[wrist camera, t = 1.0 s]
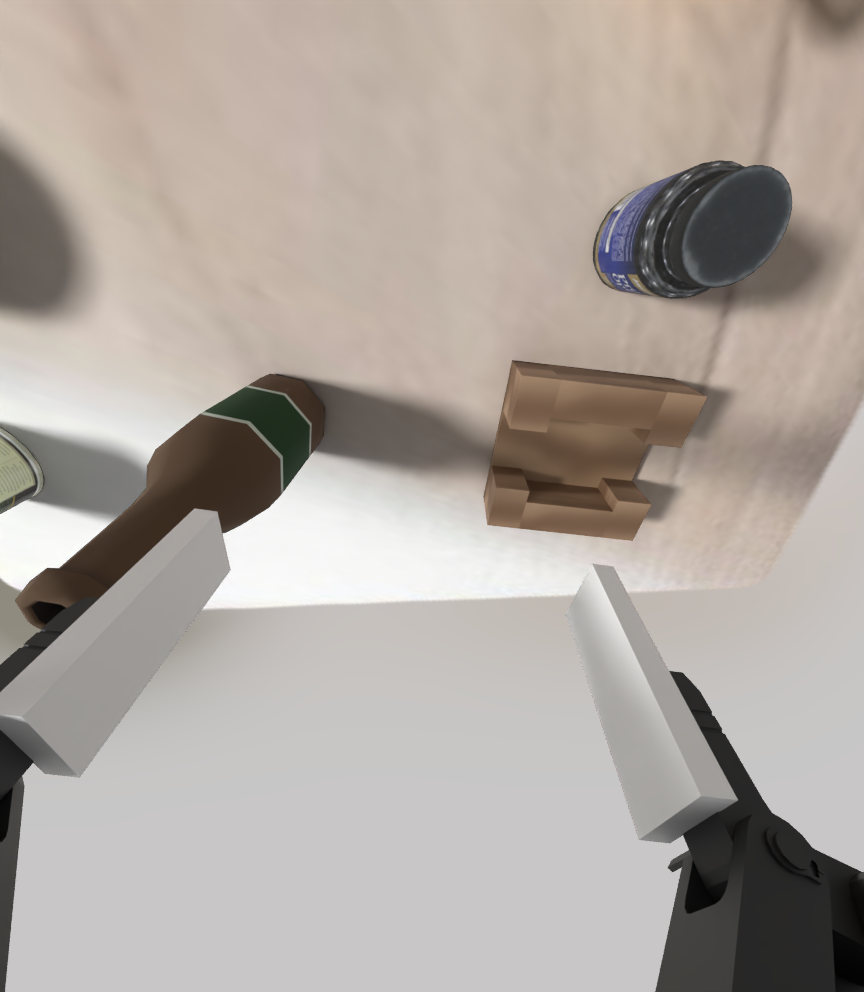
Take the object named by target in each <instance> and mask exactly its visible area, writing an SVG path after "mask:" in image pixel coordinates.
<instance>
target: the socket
mask: <svg viewBox="0 0 864 992" xmlns="http://www.w3.org/2000/svg"><path fill="white" fill-rule="evenodd" d="M706 399H707V396H705V395H703V394H701V393H699V392H697V391H696V390H694V389H692V388H690V387H688V386H686V385H684V384H682V383H680V382H678V381H676V380H674V379H670V378H661V377H652V376H644V375H635V374H626V373H618V372H609V371H600V370H591V369H583V368H574V367H565V366H557V365H548V364H539V363H531V362H522V361H513V360H512V365H511V369H510V374H509V379H508V384H507V388H506V393H505V398H504V403H503V407H502V412H501V417H500V421H499V426H498V431H497V436H496V440H495V445H494V450H493V455H492V459H491V464H490V469H489V473H488V478H487V483H486V488H485V492H484V503H485V510H486V518H487V525H492V526H502V527H511V528H520V529H529V530H539V531H548V532H557V533H566V534H576V535H585V536H594V537H603V538H613V539H622V540H631V541H633V539H634V537H635V535H636V533H637V531H638V529H639V527H640V525H641V524H642V522H643V520H644V518H645V516H646V514H647V512H648V510H649V508H650V506H651V504H650V502H649V501H648V500H647V499H646V498H645V496H644V495H643V494H642V493H641V491H640V490H639V489H638V488H637V487H636V485H635V484H634V483H633V482H632V479H633V477H634V475H635V473H636V471H637V468H638V466H639V464H640V462H641V460H642V458H643V455H644V453H645V451H646V449H647V447H648V445H649V444H652V445H661V446H670V447H679V448H681V447H682V445H683V443H684V441H685V439H686V437H687V435H688V433H689V431H690V429H691V428H692V426H693V424H694V422H695V420H696V418H697V416H698V414H699V412H700V410H701V408H702V406H703V404H704V403H705V401H706Z"/></svg>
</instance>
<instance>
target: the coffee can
mask: <svg viewBox="0 0 864 992" xmlns="http://www.w3.org/2000/svg"><path fill="white" fill-rule="evenodd" d="M43 483H44V478H43V474H42V470H41V468H40V466H39V464H38V462H37V461H36V459H35V458H34V457H33V455H32V454H31V453H30V452H29V450H28V449H27V448H26V447H25V446H24V445H23V444H21V443H20V442H19V441H18V440H17V439H16V438H15V437H13V436H12V435H11V434H9V433H8V432H6V431H5V430H3V429H1V428H0V514H2V513H3V512H5V511H7V510H9V509H11V508H12V507H14V506H16V505H18V504H19V503H21V502H23V501H25V500H27V499H29V498H31V497H34V496H35V495H37V494H38V493H39V492H40V491H41V489H42V487H43Z"/></svg>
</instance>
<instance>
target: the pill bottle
mask: <svg viewBox="0 0 864 992" xmlns="http://www.w3.org/2000/svg"><path fill="white" fill-rule="evenodd" d="M791 210H792V194H791V189H790V187H789V183H788V182H787V180H786V179H785V177H784V176H783V175H782V173H780V172H779V171H777V170H775V169H774V168H772V167H768V166H763V165H753V166H748V167H744V166H742V165H740V164H737V163H735V162H732V161H714V162H708V163H702V164H700V165H698V166H695V167H693V168H690V169H688V170H685V171H683V172H681V173H678V174H676V175H673V176H671V177H668V178H665V179H663V180H660V181H658V182H655V183H653V184H650V185H648V186H646V187H643V188H641V189H638V190H636V191H634V192H632V193H630V194H628V195H626V196H625V197H624V198H623V199H621V200H620V201H619V202H618V203H617V204H616V205H615V206H614V207H613V208H612V209H611V210H610V211H609V212H608V213H607V215H606V217H605V218H604V220H603V222H602V224H601V225H600V227H599V230H598V232H597V235H596V238H595V242H594V247H593V262H594V266H595V269H596V271H597V273H598V275H599V277H600V279H601V281H602V282H603V283H604V284H605V285H607V286H609V287H610V288H612V289H615V290H618V291H623V292H631V293H638V294H645V295H653V296H659V297H666V298H687V297H691V296H695V295H697V294H700V293H702V292H704V291H707V290H709V289H710V288H716V287H724V286H728V285H731V284H734V283H736V282H738V281H740V280H742V279H744V278H745V277H747V276H749V275H750V274H752V273H753V272H754V271H755V270H756V269H757V268H758V267H760V266H761V265H762V264H763V263H764V262H765V261H766V260H767V259H768V258H769V257H770V256H771V254H772V253H773V252H774V251H775V249H776V247H777V246H778V244H779V243H780V241H781V239H782V237H783V235H784V233H785V231H786V228H787V226H788V222H789V219H790V215H791Z"/></svg>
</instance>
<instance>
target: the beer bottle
mask: <svg viewBox="0 0 864 992" xmlns="http://www.w3.org/2000/svg"><path fill="white" fill-rule="evenodd" d="M324 416H325V407H324V406H323V404H322V403H321V402H320V401H319V399H318V398H317V397H316V396H315V395H314V393H313V392H312V391H311V390H310V388H309V387H308V386H307V385H306V384H305V382H304V381H301V380H297V379H292V378H288V377H283V376H279V375H274V374H269V375H266V376H264V377H262V378H260V379H258V380H257V381H255V382H253V383H251V384H250V385H248V386H246V387H245V388H243V389H241V390H240V391H238V392H236V393H235V394H233V395H231V396H230V397H228V398H226V399H224V400H223V401H221V402H219V403H218V404H216V405H214V406H213V407H211V408H209V409H208V410H206V411H204V412H203V413H201V414H199V415H198V416H197V417H195V418H194V419H193V420H192V421H190V422H189V423H188V424H186V425H185V426H184V427H183V428H181V429H180V430H179V431H178V432H176V433H175V434H174V435H173V436H172V437H170V438H169V439H168V440H167V441H166V442H164V443H163V444H162V445H161V446H159V447H158V448H157V449H156V450H155V452H154V454H153V456H152V457H151V459H150V461H149V463H148V465H147V486H146V489H145V490H144V491H143V493H142V494H141V495H140V496H139V497H138V498H137V499H136V501H135V502H134V503H133V504H132V505H131V506H130V507H129V508H128V509H127V510H126V511H124V512H123V513H122V514H121V515H120V516H119V517H118V518H116V519H115V520H114V521H113V522H112V523H111V524H109V525H108V526H107V527H106V528H105V529H104V530H103V531H101V532H100V533H99V534H98V535H97V536H96V537H94V538H93V539H92V540H91V541H90V542H89V543H88V544H86V545H85V546H84V547H83V548H82V549H81V550H79V551H78V552H77V553H76V554H75V555H74V556H73V557H71V558H70V559H69V560H68V561H67V562H66V563H64V564H63V565H62V566H61V567H60V568H47V569H45V570H44V571H43V572H41V573H40V574H39V575H37V576H36V577H35V578H33V579H32V580H31V581H30V582H29V583H28V584H27V585H26V587H25V588H24V589H23V591H22V592H21V593H20V595H19V596H18V597H17V598H16V600H15V602H16V603H17V605H18V607H19V608H20V610H21V611H22V613H23V615H24V616H25V618H26V619H27V621H28V622H29V623H30V624H32V625H34V626H36V627H37V628H39V629H42V628H43V627H44V626H45V625H46V624H47V623H48V622H49V621H51V620H52V619H53V618H54V617H55V616H56V615H57V614H59V613H60V612H61V611H62V610H64V609H66V608H67V607H69V606H71V605H73V604H74V603H76V602H78V601H80V600H82V599H83V598H85V597H93V598H100V597H101V596H103V595H104V594H105V593H106V592H107V591H108V590H109V589H110V588H111V587H112V586H113V585H114V584H115V583H116V582H117V581H118V580H119V579H121V578H122V577H123V576H124V575H125V574H126V573H127V572H128V571H129V570H130V569H131V568H132V567H133V566H134V565H135V564H136V563H137V562H139V561H140V560H141V559H142V558H143V557H144V556H145V555H146V554H147V553H148V552H149V551H150V550H151V549H152V548H153V547H154V546H155V545H157V544H158V543H159V542H160V541H161V540H162V539H163V538H164V537H165V536H166V535H167V534H168V533H169V532H170V531H171V530H172V529H173V528H174V527H176V526H177V525H178V524H179V523H180V522H181V521H182V520H183V519H184V518H185V517H186V516H187V515H188V514H189V513H190V512H191V511H192V510H194V509H202V510H209V511H216V512H218V517H219V521H220V525H221V530H222V533H226V532H228V531H230V530H232V529H234V528H236V527H238V526H240V525H242V524H243V523H245V522H247V521H248V520H250V519H252V518H253V517H255V516H256V515H258V514H260V513H261V512H263V511H264V510H266V509H268V508H269V507H270V506H271V505H272V504H273V503H274V502H275V501H276V500H277V499H278V497H279V496H280V495H281V494H282V493H283V492H284V490H285V489H286V487H287V486H288V485H289V483H290V482H291V481H292V479H293V478H294V477H295V475H296V474H297V473H298V471H299V470H300V469H301V467H302V466H303V465H304V463H305V462H306V461H307V459H308V458H309V457H310V455H311V454H312V452H313V451H314V450H315V448H316V447H317V446H318V444H319V443H320V441H321V439H322V438H323V436H324Z"/></svg>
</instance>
